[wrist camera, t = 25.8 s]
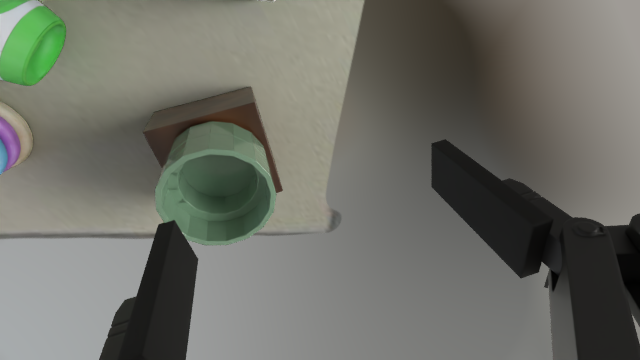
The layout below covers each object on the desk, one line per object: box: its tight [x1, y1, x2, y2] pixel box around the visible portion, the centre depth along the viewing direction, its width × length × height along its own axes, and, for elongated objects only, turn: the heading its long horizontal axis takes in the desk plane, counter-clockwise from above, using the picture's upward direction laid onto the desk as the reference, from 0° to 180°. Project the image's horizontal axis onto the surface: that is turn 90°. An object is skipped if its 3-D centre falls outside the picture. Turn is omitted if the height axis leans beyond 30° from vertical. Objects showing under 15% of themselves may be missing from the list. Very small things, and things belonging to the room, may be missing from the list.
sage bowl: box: [155, 121, 276, 245], centre depth 31 cm, size 10×10×7 cm
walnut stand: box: [143, 87, 283, 193], centre depth 36 cm, size 11×11×6 cm
